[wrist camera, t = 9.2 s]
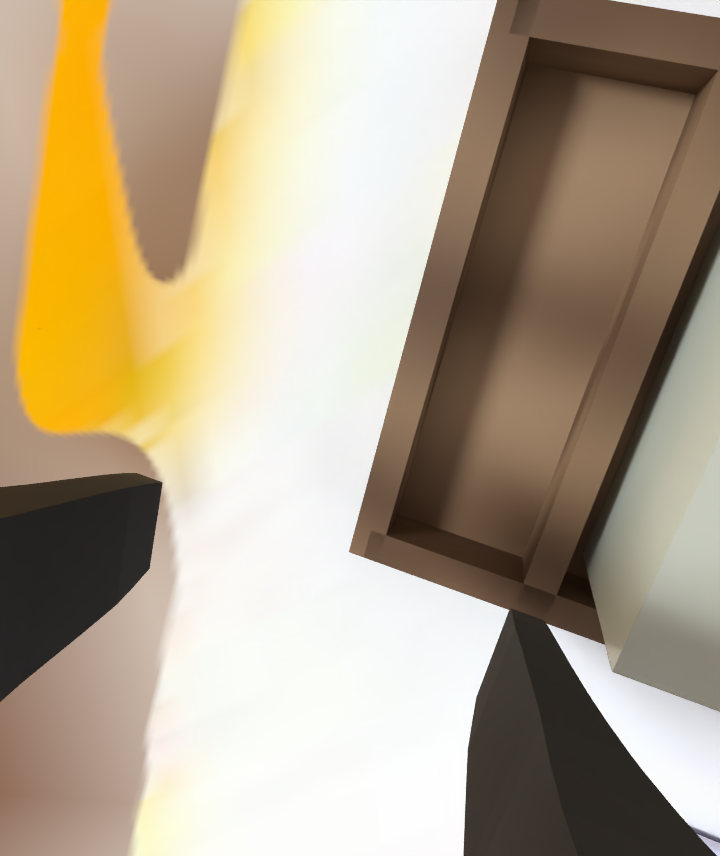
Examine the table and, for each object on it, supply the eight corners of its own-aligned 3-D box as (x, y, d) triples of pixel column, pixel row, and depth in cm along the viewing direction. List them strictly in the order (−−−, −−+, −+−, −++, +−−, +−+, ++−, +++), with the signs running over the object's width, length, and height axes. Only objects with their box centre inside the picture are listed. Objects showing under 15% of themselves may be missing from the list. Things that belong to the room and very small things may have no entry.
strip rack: (889, 705, 18) (944, 767, 15) (367, 523, 21) (348, 552, 19) (1247, 154, 13) (1400, 126, 11) (504, 25, 16) (501, -17, 14)
